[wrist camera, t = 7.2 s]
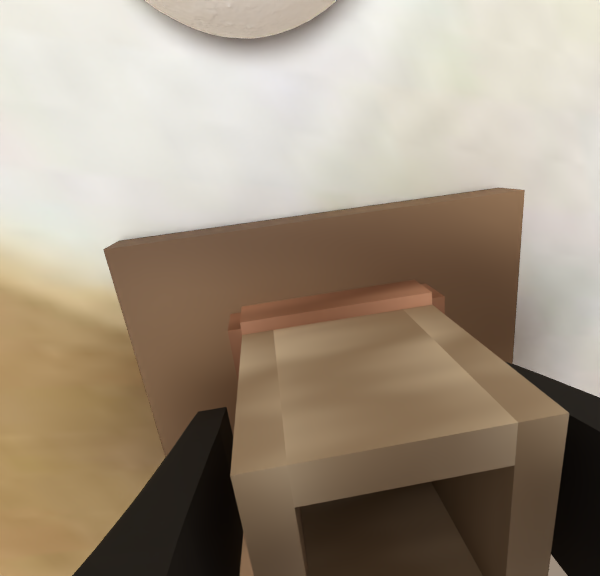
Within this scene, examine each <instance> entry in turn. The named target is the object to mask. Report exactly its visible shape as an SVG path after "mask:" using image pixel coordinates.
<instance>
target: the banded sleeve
mask: <svg viewBox="0 0 600 576" xmlns="http://www.w3.org/2000/svg"><path fill="white" fill-rule="evenodd" d="M228 336H229V341H230V346H231V350H232V355H233V360H234V365H235V370H236V375H237V380H238V390H237V402H236V414H235V426H234V438H233V449H232V461H231V473H230V477H231V481H232V485H233V489H234V494H235V498H236V502H237V506H238V511H239V515H240V519H241V523H242V528H243V532H244V536H245V540H246V544H247V549H248V553H249V557H250V561H251V566H252V570H253V574H254V576H548V571H549V564H550V556H551V549H552V541H553V533H554V526H555V518H556V511H557V503H558V495H559V488H560V480H561V473H562V465H563V458H564V450H565V442H566V435H567V427H568V420H569V412H567V411H566V410H565V409H564V408H562V407H561V406H560V405H559V404H557V403H556V402H555V401H554V400H552V399H551V398H550V397H548V396H547V395H546V394H545V393H543V392H542V391H541V390H540V389H538V388H537V387H536V386H535V385H533V384H532V383H531V382H529V381H528V380H527V379H526V378H524V377H523V376H522V375H521V374H519V373H518V372H517V371H516V370H514V369H513V368H512V367H511V366H509V365H508V364H507V363H505V362H504V361H503V360H502V359H500V358H499V357H498V356H497V355H495V354H494V353H493V352H492V351H490V350H489V349H488V348H486V347H485V346H484V345H483V344H481V343H480V342H479V341H478V340H476V339H475V338H474V337H473V336H471V335H470V334H469V333H468V332H466V331H465V330H464V329H462V328H461V327H460V326H459V325H457V324H456V323H455V322H454V321H452V320H451V319H450V318H449V317H447V316H446V315H445V296H443V295H442V294H440V293H439V292H437V291H436V290H435V289H433V288H432V287H430V286H429V285H427V284H420V283H418V282H417V281H416V280H410V281H403V282H397V283H390V284H384V285H377V286H371V287H364V288H358V289H352V290H345V291H339V292H332V293H326V294H319V295H313V296H306V297H300V298H294V299H287V300H281V301H274V302H268V303H261V304H255V305H249V306H242V307H241V313H234V314H230V320H229V325H228Z"/></svg>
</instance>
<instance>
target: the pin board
mask: <svg viewBox="0 0 600 576" xmlns="http://www.w3.org/2000/svg"><path fill="white" fill-rule="evenodd" d="M524 191H525V190H518V189H507V188H494V189H487V190H480V191H473V192H466V193H459V194H451V195H444V196H437V197H430V198H423V199H416V200H409V201H401V202H394V203H387V204H380V205H373V206H366V207H358V208H351V209H344V210H337V211H330V212H323V213H316V214H308V215H301V216H294V217H287V218H280V219H273V220H265V221H258V222H251V223H244V224H237V225H230V226H223V227H215V228H208V229H201V230H194V231H187V232H180V233H172V234H165V235H158V236H151V237H144V238H137V239H130V240H122V241H118V242H116V243H114V244H112V245H111V246H109V247H107V248H105V249H103V250H104V253H105V256H106V260H107V263H108V266H109V270H110V273H111V276H112V280H113V283H114V286H115V290H116V293H117V296H118V300H119V303H120V306H121V310H122V313H123V316H124V320H125V323H126V326H127V330H128V333H129V336H130V340H131V343H132V346H133V350H134V353H135V356H136V360H137V363H138V366H139V370H140V373H141V376H142V380H143V383H144V386H145V390H146V393H147V396H148V400H149V403H150V406H151V410H152V413H153V416H154V420H155V423H156V426H157V430H158V433H159V436H160V440H161V443H162V446H163V450H164V453H165V456H167V455H168V454H169V452H170V451H171V449H172V448H173V446H174V445H175V444H176V442H177V441H178V439H179V438H180V436H181V435H182V433H183V432H184V431H185V429H186V428H187V426H188V425H189V423H190V422H191V421H192V419H193V418H194V416H195V415H196V414H197V413H198V412H199V411H205V410H211V409H216V408H222V407H227V411H228V416H229V420H230V425H231V429H232V434H233V438H234V426H235V414H236V402H237V390H238V380H237V375H236V370H235V365H234V360H233V355H232V350H231V346H230V341H229V336H228V325H229V320H230V314H234V313H241V307H242V306H249V305H255V304H261V303H268V302H274V301H281V300H287V299H294V298H300V297H306V296H313V295H319V294H326V293H332V292H339V291H345V290H352V289H358V288H364V287H371V286H377V285H384V284H390V283H397V282H403V281H410V280H416V281H417V282H418V283H420V284H427V285H429V286H430V287H432V288H433V289H435V290H436V291H437V292H439V293H440V294H442V295H443V296H445V315H446V316H447V317H449V318H450V319H451V320H452V321H454V322H455V323H456V324H457V325H459V326H460V327H461V328H462V329H464V330H465V331H466V332H468V333H469V334H470V335H471V336H473V337H474V338H475V339H476V340H478V341H479V342H480V343H481V344H483V345H484V346H485V347H486V348H488V349H489V350H490V351H492V352H493V353H494V354H495V355H497V356H498V357H499V358H500V359H502V360H503V361H504V362H508V363H511V364H512V362H513V347H514V333H515V319H516V305H517V290H518V276H519V262H520V248H521V233H522V219H523V205H524ZM240 576H254V574H253V570H252V566H251V561H250V557H249V553H248V549H247V544H246V540H245V536H244V532H243V543H242V554H241V565H240Z"/></svg>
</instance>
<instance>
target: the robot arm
mask: <svg viewBox="0 0 600 576" xmlns="http://www.w3.org/2000/svg"><path fill="white" fill-rule="evenodd" d="M505 363H507V364H508V365H509V366H511V367H512V368H513V369H514V370H516V371H517V372H518V373H519V374H521V375H522V376H523V377H524V378H526V379H527V380H528V381H529V382H531V383H532V384H533V385H535V386H536V387H537V388H538V389H540V390H541V391H542V392H543V393H545V394H546V395H547V396H548V397H550V398H551V399H552V400H554V401H555V402H556V403H557V404H559V405H560V406H561V407H562V408H564V409H565V410H566V411H567V412H569V420H568V427H567V435H566V442H565V450H564V458H563V465H562V473H561V480H560V488H559V495H558V503H557V511H556V518H555V526H554V533H553V541H552V549H551V554H552V556H553V557H554V558H555V560H556V561H557V562H558V564H559V565H560V566H561V567H562V569H563V570H564V571H565V573H566V574H567V575H568V576H600V398H599V397H597V396H594V395H591V394H589V393H586V392H584V391H581V390H579V389H576V388H574V387H571V386H569V385H566V384H564V383H561V382H559V381H556V380H553V379H551V378H548V377H546V376H543V375H541V374H538V373H535V372H533V371H530V370H528V369H525V368H522V367H519V366H517V365H514V364H511V363H508V362H505ZM232 449H233V434H232V429H231V425H230V420H229V416H228V411H227V407H222V408H216V409H211V410H205V411H199V412H198V413H197V414H196V415H195V416H194V418H193V419H192V421H191V422H190V423H189V425H188V426H187V428H186V429H185V431H184V432H183V433H182V435H181V436H180V438H179V439H178V441H177V442H176V444H175V445H174V446H173V448H172V449H171V451H170V452H169V454H168V455H167V456H166V458H165V459H164V461H163V462H162V463H161V465H160V466H159V468H158V469H157V470H156V472H155V473H154V474H153V476H152V477H151V478H150V480H149V481H148V483H147V484H146V485H145V487H144V488H143V489H142V491H141V492H140V493H139V495H138V496H137V497H136V499H135V500H134V501H133V503H132V504H131V505H130V506H129V508H128V509H127V510H126V511H125V513H124V514H123V515H122V516H121V518H120V519H119V520H118V521H117V523H116V524H115V525H114V526H113V528H112V529H111V530H110V531H109V533H108V534H107V535H106V536H105V538H104V539H103V540H102V541H101V543H100V544H99V545H98V546H97V547H96V549H95V550H94V551H93V552H92V553H91V555H90V556H89V557H88V558H87V559H86V560H85V562H84V563H83V564H82V565H81V566H80V567H79V569H78V570H77V571H76V572H75V573H74V574H73V575H72V576H240V565H241V554H242V543H243V528H242V523H241V519H240V515H239V511H238V506H237V502H236V498H235V494H234V489H233V485H232V481H231V477H230V473H231V461H232Z"/></svg>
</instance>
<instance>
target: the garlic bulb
mask: <svg viewBox="0 0 600 576" xmlns="http://www.w3.org/2000/svg"><path fill="white" fill-rule="evenodd" d="M145 1H146V2H147V3H148V4H150V5H151V6H152V7H154V8H155V9H157V10H158V11H160V12H161V13H164V14H165V15H168V16H169V17H171V18H173V19H174V20H176V21H178V22H180V23H182V24H184V25H186V26H189V27H190V28H193V29H196V30H199V31H203V32H205V33H209V34H212V35H217V36H222V37H230V38H243V39H244V38H245V39H246V38H247V39H248V38H259V37H265V36H271V35H275V34H279V33H282V32H285V31H287V30H290V29H293V28H296V27H298V26H300V25H302V24H303V23H306V22H307V21H310V20H311V19H313V18H314V17H316V16H317V15H319V14H320V13H322V12H323V11H325V10H326V9H327V8H329V7H330V6H331V5H332V4H333V3H334V2H336V1H337V0H145Z"/></svg>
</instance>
